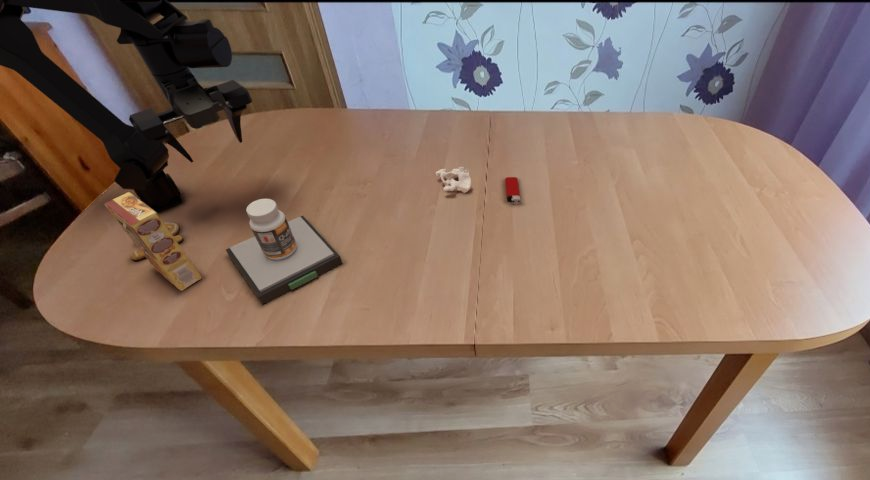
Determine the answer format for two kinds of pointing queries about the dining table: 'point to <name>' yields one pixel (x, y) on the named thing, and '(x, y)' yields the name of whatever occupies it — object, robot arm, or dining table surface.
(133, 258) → the cookie
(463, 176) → the hip bone replica
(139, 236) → the candy box
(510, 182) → the lighter
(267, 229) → the pill bottle
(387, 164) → the dining table surface
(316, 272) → the kitchen scale
